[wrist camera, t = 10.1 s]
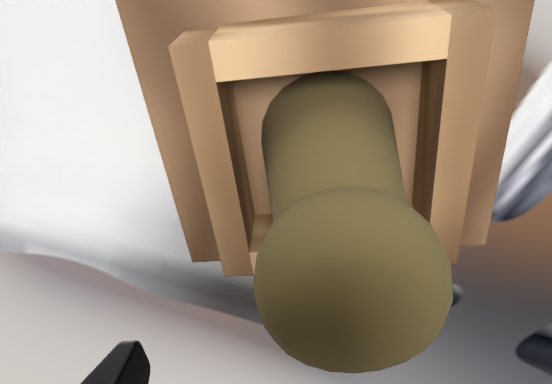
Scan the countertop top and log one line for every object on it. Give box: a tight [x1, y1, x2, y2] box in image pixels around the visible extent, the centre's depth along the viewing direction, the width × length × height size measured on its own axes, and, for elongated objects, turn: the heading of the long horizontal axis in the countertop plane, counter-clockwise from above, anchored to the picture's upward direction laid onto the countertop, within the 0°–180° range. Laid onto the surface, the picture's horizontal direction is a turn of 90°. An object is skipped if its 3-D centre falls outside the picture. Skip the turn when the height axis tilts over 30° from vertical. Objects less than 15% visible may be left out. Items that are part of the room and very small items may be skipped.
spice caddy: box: [115, 0, 534, 277], centre depth 18 cm, size 16×14×4 cm
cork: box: [254, 71, 453, 373], centre depth 14 cm, size 6×6×11 cm
